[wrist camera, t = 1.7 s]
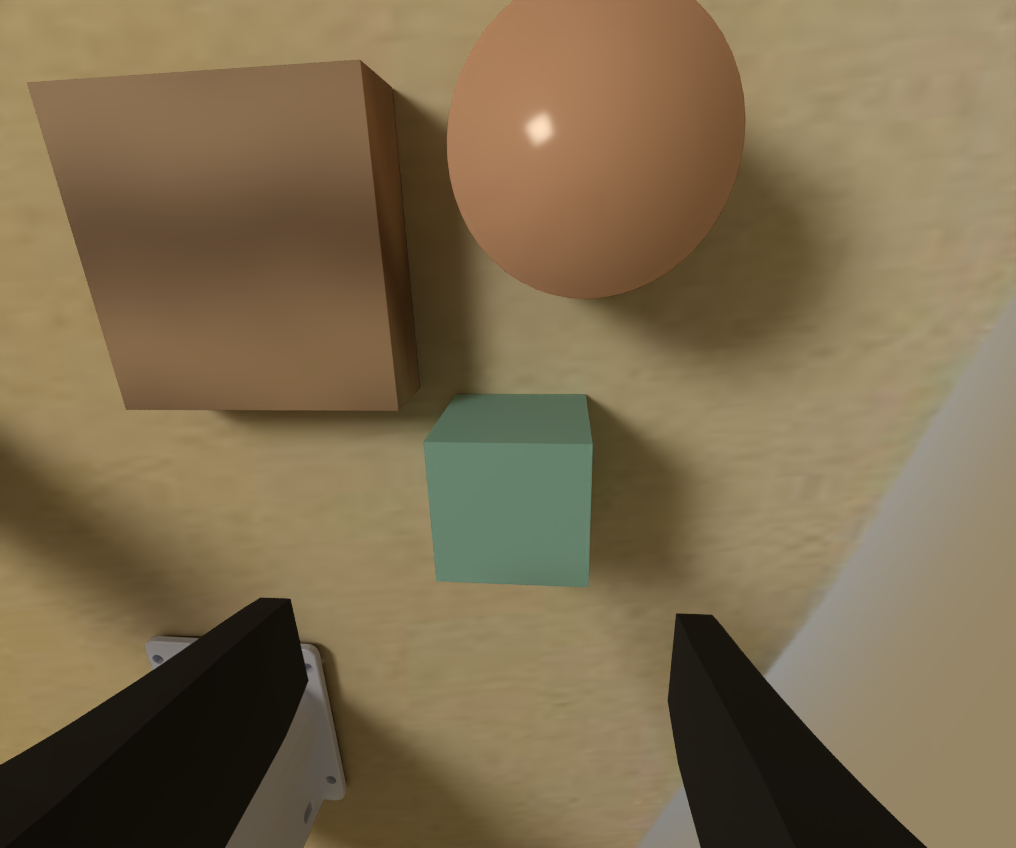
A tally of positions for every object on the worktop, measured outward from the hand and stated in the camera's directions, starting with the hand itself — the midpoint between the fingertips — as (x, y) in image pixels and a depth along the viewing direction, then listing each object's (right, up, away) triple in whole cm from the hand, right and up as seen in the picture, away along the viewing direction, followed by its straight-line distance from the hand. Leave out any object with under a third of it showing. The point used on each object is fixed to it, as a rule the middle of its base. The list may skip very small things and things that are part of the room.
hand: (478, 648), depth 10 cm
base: (-7, +10, +7) cm, 14 cm away
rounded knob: (+3, +12, +6) cm, 13 cm away
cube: (+1, +3, +9) cm, 10 cm away
